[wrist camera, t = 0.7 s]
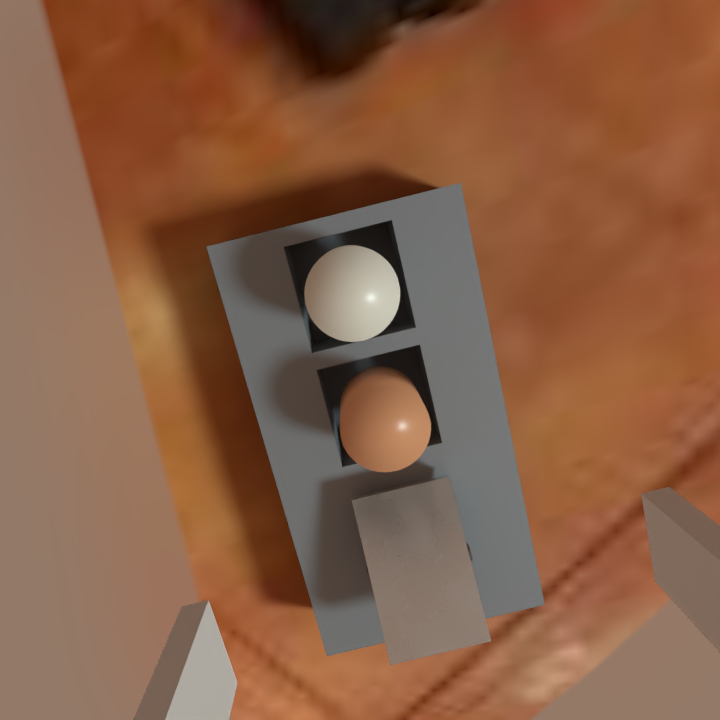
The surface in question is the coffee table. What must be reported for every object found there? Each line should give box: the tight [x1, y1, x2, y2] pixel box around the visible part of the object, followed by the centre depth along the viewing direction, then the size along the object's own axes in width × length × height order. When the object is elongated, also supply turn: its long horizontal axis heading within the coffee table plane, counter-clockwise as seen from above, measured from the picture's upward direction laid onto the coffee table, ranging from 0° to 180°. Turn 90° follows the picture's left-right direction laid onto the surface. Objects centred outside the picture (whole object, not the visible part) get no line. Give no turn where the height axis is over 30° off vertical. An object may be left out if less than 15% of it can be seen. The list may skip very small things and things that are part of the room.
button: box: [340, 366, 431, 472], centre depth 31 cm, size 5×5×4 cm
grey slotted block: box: [207, 183, 545, 656], centre depth 35 cm, size 26×14×6 cm, turn 14°
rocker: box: [352, 475, 491, 665], centre depth 32 cm, size 9×6×2 cm, turn 14°
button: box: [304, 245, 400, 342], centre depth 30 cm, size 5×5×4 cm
